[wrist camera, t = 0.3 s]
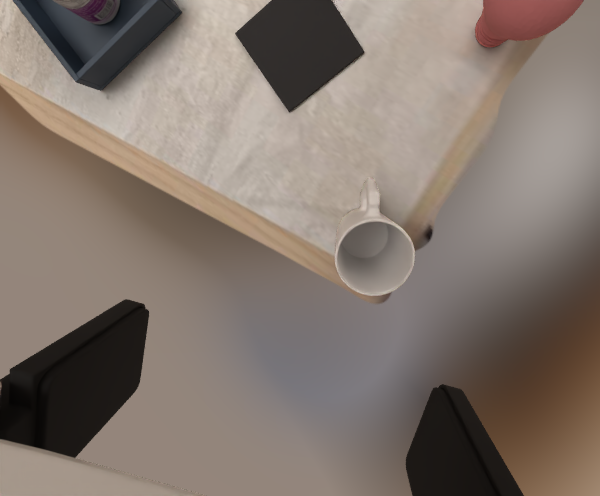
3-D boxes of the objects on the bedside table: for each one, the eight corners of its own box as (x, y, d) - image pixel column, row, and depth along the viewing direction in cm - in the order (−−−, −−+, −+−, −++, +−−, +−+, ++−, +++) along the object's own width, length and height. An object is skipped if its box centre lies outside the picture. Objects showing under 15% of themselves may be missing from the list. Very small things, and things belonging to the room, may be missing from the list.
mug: (390, 260, 40) (412, 296, 29) (334, 260, 41) (334, 295, 29) (394, 176, 38) (420, 177, 27) (335, 176, 39) (335, 178, 27)
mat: (309, -32, 34) (309, -35, 34) (363, 52, 36) (364, 51, 35) (235, 34, 37) (234, 33, 36) (289, 112, 38) (288, 111, 37)
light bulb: (438, 51, 35) (489, -9, 23) (475, -22, 33) (551, -126, 22) (498, 80, 35) (580, 35, 23) (539, 9, 33) (649, -78, 22)
